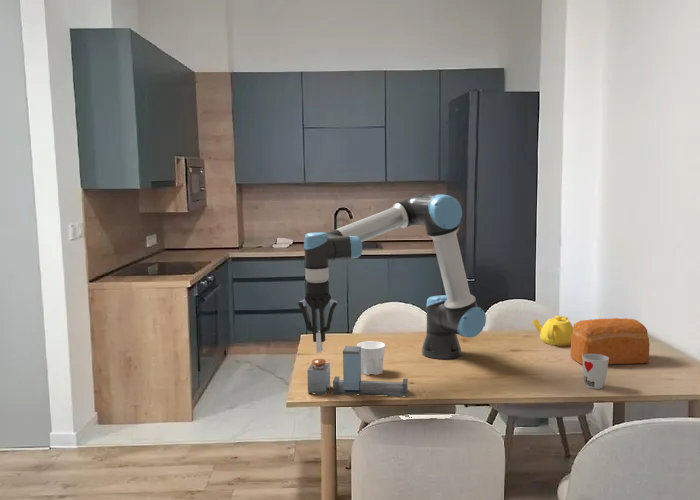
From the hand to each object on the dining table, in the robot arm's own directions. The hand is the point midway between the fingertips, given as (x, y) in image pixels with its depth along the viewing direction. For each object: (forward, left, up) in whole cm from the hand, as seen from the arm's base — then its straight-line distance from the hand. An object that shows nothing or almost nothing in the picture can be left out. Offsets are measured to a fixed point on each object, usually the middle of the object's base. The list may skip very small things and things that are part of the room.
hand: (319, 351), depth 212 cm
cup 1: (-15, -21, -13) cm, 29 cm away
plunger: (0, 0, -12) cm, 12 cm away
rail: (-17, 0, -13) cm, 21 cm away
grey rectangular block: (-11, 0, -12) cm, 16 cm away
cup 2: (-90, -13, -13) cm, 92 cm away
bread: (-102, -44, -13) cm, 112 cm away
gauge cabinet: (0, 0, -13) cm, 13 cm away
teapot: (-86, -69, -13) cm, 111 cm away
